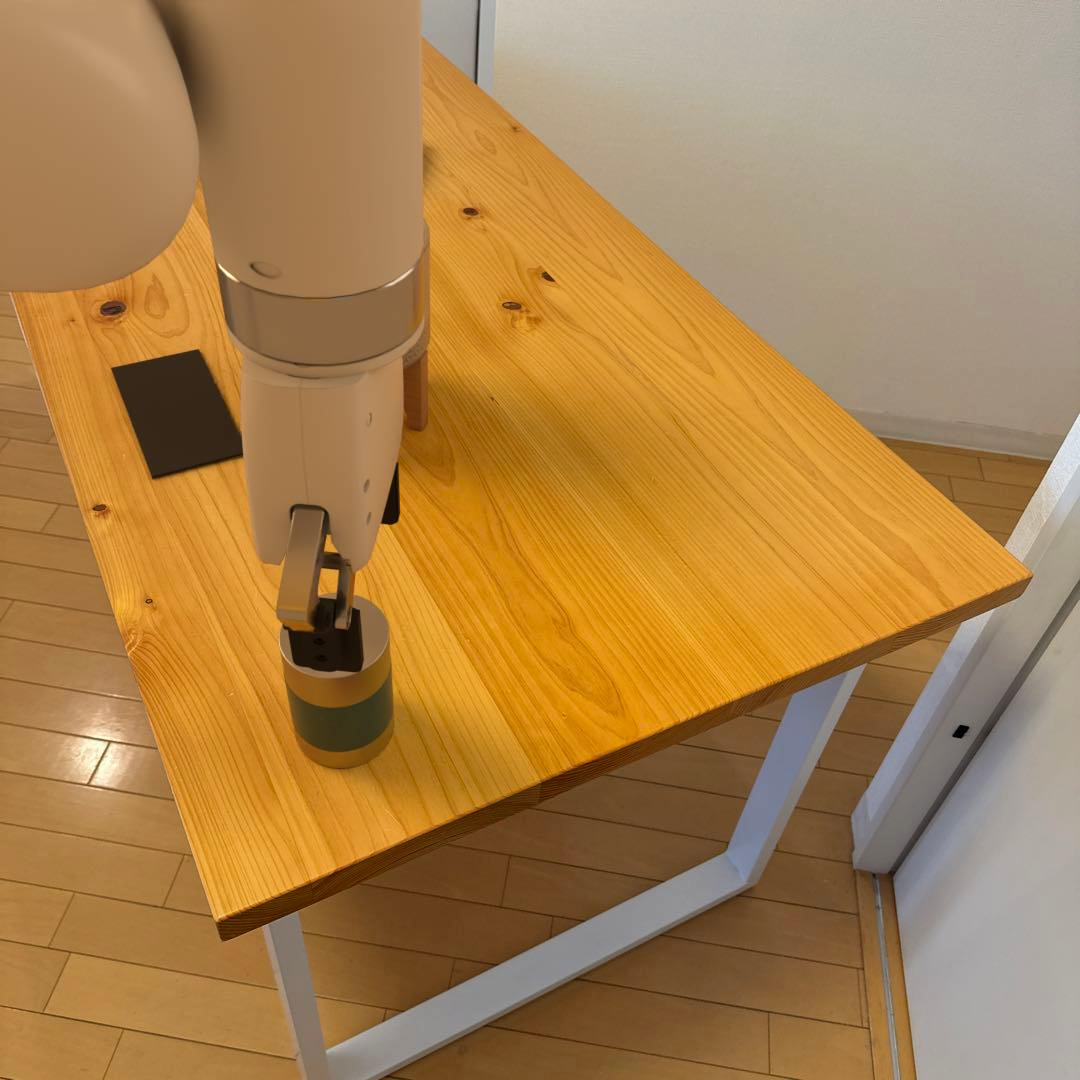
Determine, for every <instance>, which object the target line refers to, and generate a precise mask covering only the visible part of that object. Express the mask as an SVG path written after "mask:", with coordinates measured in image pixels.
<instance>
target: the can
mask: <svg viewBox="0 0 1080 1080" xmlns="http://www.w3.org/2000/svg"><path fill="white" fill-rule="evenodd" d="M336 596H337V592H329V593H324V594H320V595H319V594H318V597H321V598H331V599H336ZM353 607H354V608H356V609H358V610H360V616H361V628H362V640H363V652H364V662H363V666H362V670H361V671H360V672H357V673H354V672H344V671H335V672H322V671H316V670H313V669H310V668H307V667H300V666H297V665H296V664H294V663H293V659H292V653H291V647H290V641H289V635H288V630H284V628H283V624H281V625H280V628H279V631H278V647H279V653H280V658H281V663H282V671H283V678H284V684H285V688H286V694H287V699H288V706H289V711H290V716H291V722H292V724H293V731H294V735H295V736H294V737H295V741H296V744H297V745H298V748H299V749H300V751H301V752H302V753H303V755H305V756H306V757H307V758H308V759H309V760H311V761H312V762H314V763H316V764H318V765H320V766H323V767H327V768H330V769H350V768H355V767H358V766H361V765H364V764H366V763H368V762H370V761H371V760H373V759H375V758H376V757H377V756H378V755H380V754H381V753H382V752H383V751H384V749H386V747H387V746H388V744H389V743H390V741H391V739H392V737H393V733H394V729H395V715H394V714H395V713H394V709H395V708H394V706H395V705H394V688H393V687H394V684H393V668H392V667H393V665H392V655H391V638H390V637H391V636H390V626H389V622H388V620H387V617H386V616H385V614H384V613H383V611H382V610H381V609H380V607H379V606H377V605H376V604H375V603H374V602H372V601H370V600H369V599H367V598H365V597H362V596H360V595H357V594H354V597H353Z"/></svg>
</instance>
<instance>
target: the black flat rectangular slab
mask: <svg viewBox="0 0 1080 1080" xmlns="http://www.w3.org/2000/svg"><path fill="white" fill-rule="evenodd" d="M206 363H207V362H206V361H205V359H204V357H203V354H202V353H201V351H200V349H199V348H197V349H191V350H188V351H181V352H178V353H173V354H169V355H164V356H159V357H155V358H149V359H145V360H140V361H136V362H132V363H127V364H123V365H117V366H112V367H110V370H111V373H112V374H113V378H114V381H115V383H116V386H117V388H118V391H119V395H120V397H121V399H122V401H123V405H124V407H125V410H126V412H127V415H128V418H129V421H130V423H131V426H132V429H133V431H134V433H135V436H136V439H137V442H138V445H139V448H140V450H141V453H142V455H143V458H144V460H145V462H146V466H147V468H148V472H149V473H150V476H151V479H152V480H154V479H158V478H161V477H165V476H169V475H173V474H178V473H180V472H184V471H188V470H192V469H197V468H200V467H204V466H208V465H211V464H215V463H216V464H217V463H220V462H223V461H224V462H225V461H227V460H231V459H235V458H239V457H243V445H242V435H240V432H239V431H238V429H237V426H236V424H235V422H234V420H233V418H232V415H231V414H230V411H229V409H228V407H227V405H226V403H225V401H224V398H223V397H222V395H221V392H220V390H219V388H218V386H217V383H216V382H215V381H214V377H213V375H212V373H211V372H210V369H209V368H208V366H207V364H206Z"/></svg>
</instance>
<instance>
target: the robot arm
mask: <svg viewBox="0 0 1080 1080" xmlns="http://www.w3.org/2000/svg"><path fill="white" fill-rule="evenodd" d="M422 2H423V1H422V0H0V292H3V293H5V292H6V293H35V294H37V293H40V294H54V293H55V294H56V293H64V292H73V291H83V290H89V289H93V288H97V287H100V286H103V285H107V284H110V283H113V282H116V281H121V280H123V279H126V278H127V277H129V276H131V275H132V274H134V273H137V272H138V271H140V270H141V269H144V268H145V267H147V266H148V265H150V263H152V262H153V261H154V260H155V259H157V257H158V256H160V255H161V254H162V253H163V252H165V250H167V249H168V248H169V247H170V246H171V244H172V242H173V241H174V240H175V238H176V237H177V236H178V234H179V233H180V231H181V230H182V229H183V227H184V225H185V223H186V221H187V219H188V216H189V213H190V211H191V209H192V206H193V204H194V202H195V198H196V192H197V186H198V181H199V177H200V183H201V189H202V195H203V200H204V205H205V212H206V218H207V224H208V229H209V234H210V240H211V246H212V253H213V258H214V265H215V270H216V276H217V281H218V287H219V293H220V298H221V304H222V305H221V306H222V310H223V315H224V324H225V329H226V333H227V336H228V339H229V340H230V342H231V343H232V345H233V346H234V347H233V348H235V349H236V350H237V351H238V352H239V353H240V354H242V361H241V367H240V368H241V370H240V425H241V427H240V429H241V439H242V445H243V456H242V458H243V467H244V475H245V476H244V477H245V485H246V495H247V501H248V510H249V520H250V527H251V533H252V534H251V535H252V540H253V546H254V550H255V555H256V556H257V558H258V559H259V561H260V562H261V563H262V564H266V565H272V566H273V565H274V566H282V565H281V564H282V563H283V567H282V573H281V578H280V585H279V588H278V589H279V590H278V595H277V601H276V607H275V609H276V610H275V614H276V616H275V617H276V618H277V620H278V621H279V622H280V623H282V624H283V628H284V630H288V635H289V641H290V647H291V653H292V659H293V663H294V664H296V665H297V666H300V667H307V668H310V669H313V670H316V671H322V672H335V671H344V672H354V673H357V672H360V671H361V670H362V666H363V662H364V652H363V640H362V628H361V616H360V610H358V609H356V608H354V607H353V597H354V595H355V585H356V575H357V574H356V573H357V572H359V571H360V570H362V569H363V568H364V567H366V566H367V565H368V564H369V562H370V560H371V558H372V555H373V552H374V548H375V546H376V542H377V538H378V535H379V531H380V528H381V525H388V526H394V525H395V524H397V523H398V522H399V520H400V516H401V495H400V463H399V461H398V458H399V453H400V449H401V443H402V437H403V428H404V388H403V360H402V356H403V355H404V354H406V353H407V352H408V351H409V349H411V348H412V347H413V346H414V345H415V344H416V342H417V341H418V340H419V338H420V336H421V334H422V331H423V328H424V218H425V216H424V132H423V131H424V128H423V127H424V126H423V125H424V123H423V122H424V121H423V116H424V115H423V113H424V112H423V3H422ZM328 536H330V542H331V544H332V545H333V547H334V548H335V550H336V551H327V550H325V549H326V543H327V537H328ZM283 561H284V562H283ZM322 569H325V570H334V571H338V574H337V575H338V576H337V585H336V593H337V596H336V599H331V598H321V597H318V596H319V585H320V578H321V573H322ZM282 624H281V625H282Z"/></svg>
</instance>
